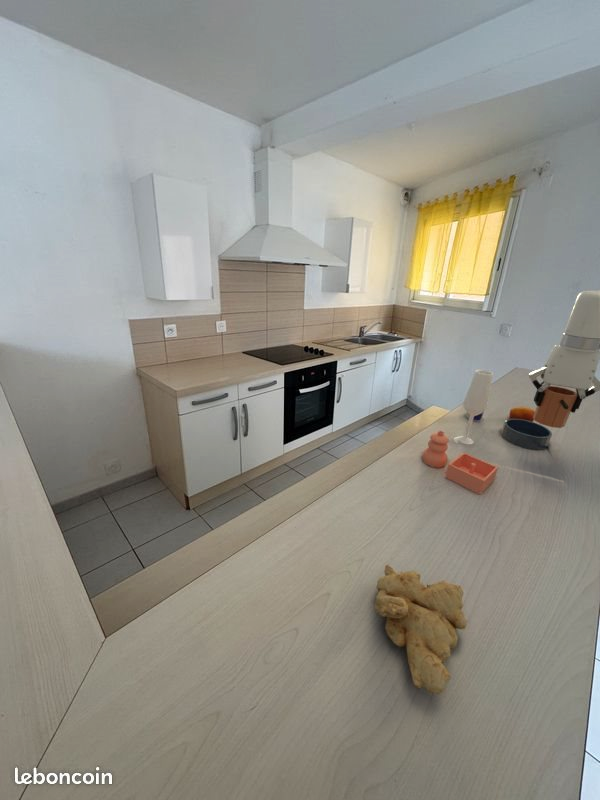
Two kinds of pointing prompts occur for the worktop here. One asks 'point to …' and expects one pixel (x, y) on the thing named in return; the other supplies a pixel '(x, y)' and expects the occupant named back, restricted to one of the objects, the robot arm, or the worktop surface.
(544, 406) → the cup
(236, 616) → the worktop surface
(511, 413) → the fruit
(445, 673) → the ginger root
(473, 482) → the pottery
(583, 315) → the robot arm
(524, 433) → the shallow round gray bowl
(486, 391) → the champagne flute
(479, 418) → the energy drink
